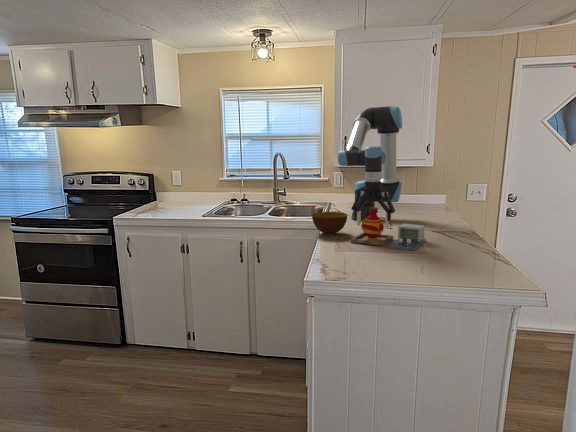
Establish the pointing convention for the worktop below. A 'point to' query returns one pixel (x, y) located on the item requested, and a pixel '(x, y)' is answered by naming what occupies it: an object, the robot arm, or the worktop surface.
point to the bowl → (329, 222)
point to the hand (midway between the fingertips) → (372, 226)
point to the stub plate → (406, 247)
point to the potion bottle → (372, 225)
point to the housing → (411, 231)
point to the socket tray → (380, 241)
